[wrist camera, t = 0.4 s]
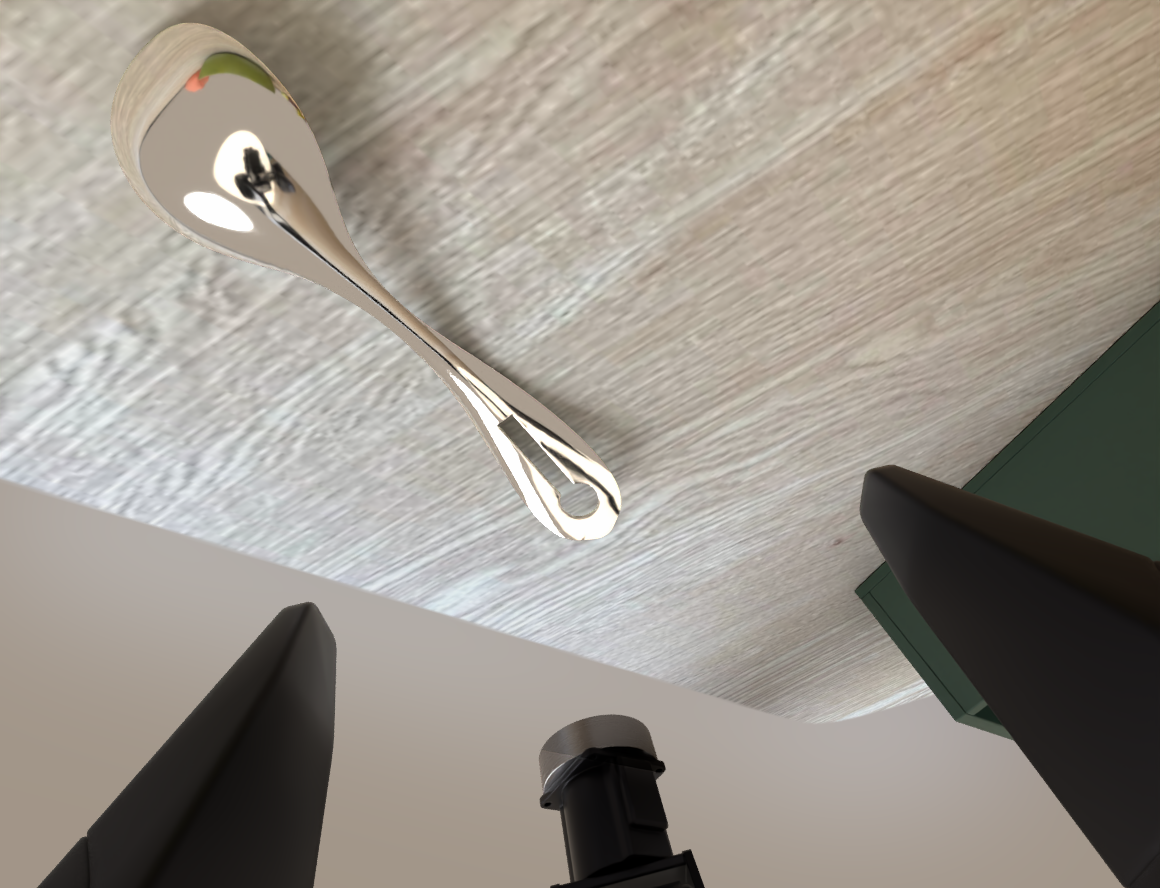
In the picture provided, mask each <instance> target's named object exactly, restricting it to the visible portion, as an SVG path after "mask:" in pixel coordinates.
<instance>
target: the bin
mask: <svg viewBox="0 0 1160 888" xmlns="http://www.w3.org/2000/svg"><path fill="white" fill-rule="evenodd" d="M962 490H965V491H968V492H970V493H973V494H976V495H979V496H981V497H984V498H987V499H990V500H992V501H995V502H998V503H1001V504H1003V505H1006V506H1009V507H1012V508H1014V509H1017V510H1020V511H1023V512H1025V513H1028V514H1031V515H1034V516H1036V517H1039V518H1042V519H1045V520H1047V521H1050V522H1053V523H1056V524H1058V525H1061V526H1064V527H1067V528H1069V529H1072V530H1075V531H1078V532H1081V533H1083V534H1086V535H1089V536H1092V537H1094V538H1097V539H1100V540H1103V541H1105V542H1108V543H1111V544H1114V545H1116V546H1119V547H1122V548H1125V549H1127V550H1130V551H1133V552H1136V553H1138V554H1141V555H1144V556H1147V557H1149V558H1150V559H1151V560H1152V561H1156V560H1157V561H1160V301H1159V302H1158V303H1157V304H1156V305H1155V306H1154V307H1153V308H1152V309H1151V310H1150V311H1149V312H1148V313H1147V314H1146V315H1145V316H1144V317H1143V318H1142V319H1140V320H1139V321H1138V322H1137V323H1136V324H1135V325H1134V326H1133V327H1132V328H1131V329H1130V330H1129V331H1128V332H1127V333H1126V334H1125V335H1124V336H1123V337H1122V338H1120V339H1119V340H1118V341H1117V342H1116V343H1115V344H1114V345H1113V346H1112V347H1111V348H1110V349H1109V350H1108V351H1107V352H1106V353H1105V354H1104V355H1103V356H1102V357H1101V358H1099V359H1098V360H1097V361H1096V362H1095V363H1094V364H1093V365H1092V366H1091V367H1090V368H1089V369H1088V370H1087V371H1086V372H1085V373H1084V374H1083V375H1082V376H1081V377H1079V378H1078V379H1077V380H1076V381H1075V382H1074V383H1073V384H1072V385H1071V386H1070V387H1069V388H1068V389H1067V390H1066V391H1065V392H1064V393H1063V394H1062V395H1061V396H1059V397H1058V398H1057V399H1056V400H1055V401H1054V402H1053V403H1052V404H1051V405H1050V406H1049V407H1048V408H1047V409H1046V410H1045V411H1044V412H1043V413H1042V414H1041V415H1039V416H1038V417H1037V418H1036V419H1035V420H1034V421H1033V422H1032V423H1031V424H1030V425H1029V426H1028V427H1027V428H1026V429H1025V430H1024V431H1023V432H1022V433H1021V434H1019V435H1018V436H1017V437H1016V438H1015V439H1014V440H1013V441H1012V442H1011V443H1010V444H1009V445H1008V446H1007V447H1006V448H1005V449H1004V450H1003V451H1002V452H1001V453H999V454H998V455H997V456H996V457H995V458H994V459H993V460H992V461H991V462H990V463H989V464H988V465H987V466H986V467H985V468H984V469H983V470H982V471H981V472H980V473H978V474H977V475H976V476H975V477H974V478H973V479H972V480H971V481H970V482H969V483H968V484H967V485H966V486H965V487H964V488H963V489H962ZM855 592H856V594H857V595H858V596H859V598H860V599H862V601H863V602H864V604H865V605H866V606H867V608H868V609H869V610H870V612H871V613H872V614H873V615H874V617H875V618H876V619H877V621H878V622H879V623H880V624H881V626H882V627H883V628H884V630H885V631H886V632H887V633H888V635H889V636H890V637H891V639H892V640H893V641H894V642H895V644H896V645H897V646H898V648H899V649H900V650H901V652H902V653H903V654H904V655H905V657H906V658H907V659H908V661H909V662H910V663H911V664H912V666H913V667H914V668H915V670H916V671H917V672H918V673H919V675H920V676H921V677H922V679H923V680H924V681H925V682H926V684H927V685H928V686H929V688H930V689H931V690H932V692H933V693H934V694H935V695H936V697H937V698H938V699H939V701H940V702H941V703H942V704H943V706H944V707H945V708H946V710H947V711H948V712H949V713H950V715H951V716H952V717H953V718H954V720H955V721H956V722H959V723H963V724H965V725H969V726H972V727H975V728H978V729H981V730H984V731H987V732H990V733H993V734H996V735H999V736H1002V737H1005V738H1008V739H1011V740H1013V738H1012V737H1011V736H1010V734H1009V733H1008V731H1007V730H1006V729H1005V727H1004V726H1003V725H1002V723H1001V722H1000V721H999V719H998V718H997V717H996V715H995V714H994V713H993V711H992V710H991V709H990V707H989V706H988V705H987V703H986V702H985V701H984V699H983V698H982V697H981V695H980V694H979V693H978V691H977V690H976V689H975V687H974V686H973V685H972V683H971V682H970V681H969V679H968V678H967V677H966V675H965V674H964V672H963V671H962V670H961V668H960V667H959V666H958V664H957V663H956V662H955V660H954V659H953V658H952V656H951V655H950V654H949V652H948V651H947V650H946V648H945V647H944V646H943V644H942V643H941V642H940V640H939V639H938V638H937V636H936V635H935V634H934V632H933V631H932V630H931V628H930V627H929V626H928V624H927V623H926V622H925V620H924V619H923V618H922V616H921V615H920V613H919V612H918V611H917V609H916V608H915V607H914V605H913V604H912V602H911V601H910V600H909V598H908V596H907V595H906V593H905V592H904V590H903V589H902V587H901V585H900V584H899V582H898V580H897V579H896V577H895V575H894V574H893V572H892V570H891V569H890V567H889V565H888V563H887V562H885V563H884V564H883V565H882V566H881V567H880V568H878V569H877V570H876V571H875V572H874V573H873V574H872V575H871V576H870V577H869V578H868V579H867V580H866V581H865V582H864V583H863V584H862V585H861V586H860V587H859V588H857V589H856V590H855Z"/></svg>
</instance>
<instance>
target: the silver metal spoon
mask: <svg viewBox="0 0 1160 888" xmlns="http://www.w3.org/2000/svg"><path fill="white" fill-rule="evenodd" d="M110 125H111V137H112V143H113V147H114V151H115V154H116V157H117V160H118V162H119V165H120V167H121V169H122V171H123V173H124V175H125V177H126V178H127V180H128V182H129V183H130V185H131V186H132V188H133V189H134V191H135V192H136V194H137V195H138V196H139V197H140V199H141V200H142V201H143V202H144V203H145V204H146V206H147V207H148V208H149V209H150V210H151V211H152V212H153V213H154V214H155V215H156V216H157V217H159V218H160V219H161V220H162V221H163V222H164V223H166V224H167V225H168V226H169V227H171V228H172V229H174V230H175V231H177V232H178V233H180V234H181V235H183V236H184V237H186V238H188V239H190V240H191V241H193V242H195V243H197V244H199V245H201V246H203V247H206V248H208V249H210V250H212V251H215V252H218V253H220V254H223V255H226V256H229V257H232V258H235V259H238V260H241V261H245V262H248V263H252V264H255V265H259V266H262V267H266V268H270V269H273V270H277V271H280V272H284V273H287V274H290V275H293V276H296V277H299V278H302V279H305V280H308V281H310V282H313V283H315V284H317V285H320V286H322V287H324V288H326V289H328V290H330V291H332V292H334V293H336V294H338V295H340V296H342V297H344V298H345V299H347V300H349V301H351V302H352V303H354V304H355V305H357V306H359V307H360V308H362V309H363V310H365V311H366V312H368V313H369V314H371V315H372V316H373V317H375V318H376V319H378V320H379V321H380V322H382V323H383V324H384V325H385V326H387V327H388V328H389V329H390V330H392V331H393V332H394V333H395V334H396V335H398V336H399V337H400V338H401V339H402V340H403V341H404V342H405V343H407V344H408V345H409V346H410V347H411V348H412V349H413V350H414V351H415V352H416V353H417V354H418V355H419V356H420V357H421V358H422V359H423V360H424V361H425V362H426V363H427V364H428V365H429V366H430V368H431V369H432V370H433V371H434V372H435V373H436V374H437V375H438V377H439V378H440V379H441V380H442V381H443V383H444V384H445V385H446V386H447V388H448V389H449V390H450V391H451V393H452V394H453V395H454V397H455V398H456V399H457V401H458V402H459V403H460V405H461V406H462V408H463V409H464V410H465V412H466V413H467V415H468V416H469V418H470V419H471V421H472V422H473V424H474V426H475V427H476V429H477V430H478V432H479V433H480V435H481V437H482V438H483V440H484V441H485V443H486V445H487V446H488V448H489V449H490V451H491V453H492V454H493V456H494V457H495V459H496V461H497V462H498V464H499V466H500V467H501V469H502V470H503V472H504V473H505V475H506V477H507V478H508V480H509V481H510V483H511V484H512V486H513V487H514V489H515V490H516V492H517V493H518V494H519V496H520V497H521V499H522V500H523V501H524V503H525V504H526V505H527V507H528V508H529V509H530V510H531V511H532V513H533V514H534V515H535V516H536V517H537V518H538V519H539V520H540V521H541V522H542V523H543V524H544V525H545V526H546V527H547V528H548V529H550V530H551V531H552V532H554V533H556V534H557V535H559V536H561V537H564V538H566V539H570V540H588V539H597V538H601V537H603V536H605V535H607V534H608V533H609V532H610V531H611V529H612V528H613V526H614V524H615V521H616V519H617V517H618V515H619V512H620V509H621V495H620V491H619V488H618V485H617V483H616V481H615V479H614V477H613V475H612V474H611V472H610V471H609V469H608V468H607V466H606V465H605V464H604V462H603V461H602V460H601V459H600V457H599V456H598V455H597V454H596V453H595V452H594V451H593V450H592V448H591V447H590V446H589V445H588V444H587V443H586V442H585V441H584V440H583V439H582V438H581V437H580V436H579V435H578V434H577V433H575V432H574V431H573V430H572V429H571V428H570V427H569V426H568V425H567V424H565V423H564V422H563V421H562V420H561V419H560V418H558V417H557V416H556V415H555V414H554V413H552V412H551V411H550V410H549V409H548V408H546V407H545V406H544V405H542V404H541V403H540V402H539V401H537V400H536V399H535V398H533V397H532V396H531V395H529V394H528V393H527V392H525V391H524V390H523V389H521V388H520V387H519V386H517V385H516V384H514V383H513V382H512V381H510V380H509V379H507V378H506V377H504V376H503V375H502V374H500V373H499V372H497V371H496V370H494V369H493V368H491V367H490V366H488V365H487V364H485V363H484V362H482V361H481V360H479V359H478V358H476V357H474V356H473V355H471V354H470V353H468V352H467V351H465V350H464V349H462V348H461V347H459V346H458V345H456V344H454V343H453V342H451V341H450V340H448V339H447V338H445V337H444V336H442V335H441V334H440V333H438V332H437V331H435V330H434V329H432V328H431V327H430V326H428V325H427V324H425V323H424V322H423V321H421V320H420V319H419V318H417V317H416V316H415V315H414V314H412V313H411V312H410V311H409V310H407V309H406V308H405V307H404V306H403V305H402V304H401V303H399V302H398V301H397V300H396V299H395V298H394V297H393V296H392V295H391V294H390V293H389V292H388V291H387V290H386V289H385V288H384V287H383V286H382V284H381V283H380V282H379V281H378V280H377V279H376V278H375V276H374V275H373V274H372V272H371V271H370V270H369V268H368V267H367V266H366V264H365V263H364V261H363V260H362V258H361V257H360V255H359V253H358V251H357V250H356V248H355V246H354V244H353V242H352V240H351V238H350V236H349V233H348V231H347V229H346V226H345V223H344V221H343V218H342V215H341V212H340V209H339V206H338V203H337V199H336V196H335V193H334V190H333V186H332V183H331V180H330V177H329V174H328V171H327V168H326V164H325V162H324V159H323V156H322V153H321V151H320V148H319V146H318V143H317V141H316V139H315V136H314V134H313V132H312V130H311V128H310V126H309V124H308V122H307V120H306V119H305V117H304V115H303V113H302V112H301V110H300V108H299V107H298V105H297V104H296V102H295V101H294V99H293V98H292V96H291V95H290V94H289V92H288V91H287V90H286V88H285V87H284V86H283V85H282V83H281V82H280V81H279V80H278V78H277V77H276V76H275V75H274V74H273V73H272V72H271V71H270V70H269V69H268V67H267V66H266V65H265V64H264V63H263V62H262V61H261V60H260V59H258V58H257V57H256V56H255V55H254V54H253V53H252V52H251V51H249V50H248V49H247V48H246V47H245V46H243V45H242V44H241V43H239V42H238V41H237V40H235V39H234V38H232V37H231V36H229V35H227V34H225V33H224V32H222V31H220V30H218V29H216V28H213V27H210V26H207V25H204V24H199V23H182V24H177V25H174V26H171V27H169V28H167V29H165V30H164V31H162V32H160V33H159V34H158V35H156V36H155V37H154V38H153V39H151V40H150V41H149V42H148V43H147V44H146V45H145V46H144V47H143V48H142V49H141V51H140V52H139V53H138V54H137V55H136V57H135V58H134V59H133V60H132V62H131V63H130V65H129V66H128V68H127V69H126V71H125V73H124V74H123V76H122V78H121V80H120V82H119V85H118V87H117V90H116V92H115V96H114V99H113V103H112V109H111V120H110ZM511 415H513V416H514V417H515V418H516V420H517V421H518V422H519V423H520V424H521V425H522V426H523V427H524V428H525V430H526V431H527V432H528V433H529V434H530V435H531V436H532V437H533V439H534V440H535V441H536V442H537V443H538V444H539V445H540V446H541V448H542V449H543V450H544V451H545V452H546V453H547V454H548V456H549V457H550V458H551V459H552V460H553V461H554V462H555V463H556V465H557V466H558V467H559V468H560V469H561V470H562V471H563V472H564V474H565V475H566V476H567V477H568V478H569V479H570V480H571V482H572V483H573V484H576V483H583V484H587V485H589V486H591V487H592V488H594V490H595V491H596V492H597V494H598V503H597V506H596V508H595V509H594V510H593V511H592V512H591V513H589V514H587V515H584V516H574V515H571V514H569V513H567V512H566V511H565V510H564V509H563V508H562V506H561V504H560V497H561V494H560V492H559V491H558V490H557V489H556V488H555V487H554V486H553V485H552V484H551V482H550V481H549V480H548V479H547V478H546V477H545V476H544V475H543V474H542V472H541V471H540V470H539V469H538V468H537V467H536V466H535V465H534V464H533V462H532V461H531V460H530V459H529V458H528V457H527V456H526V455H525V454H524V453H523V451H522V450H521V449H520V448H519V447H518V446H517V445H516V444H515V443H514V441H513V440H512V439H511V438H510V437H509V436H508V435H507V434H506V433H505V431H504V430H503V429H502V428H501V427H500V426H499V424H500V423H502V422H503V421H504V420H506V419H507V418H508V417H509V416H511Z"/></svg>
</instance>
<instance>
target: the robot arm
mask: <svg viewBox="0 0 1160 888" xmlns="http://www.w3.org/2000/svg"><path fill="white" fill-rule="evenodd" d="M860 515H861V518H862V521H863V523H864V525H865V526H866V528H867V530H868V531H869V533H870V535H871V536H872V538H873V540H874V542H875V543H876V545H877V547H878V548H879V550H880V552H881V553H882V555H883V557H884V558H885V560H886V562H887V563H888V565H889V567H890V569H891V570H892V572H893V574H894V575H895V577H896V579H897V580H898V582H899V584H900V585H901V587H902V589H903V590H904V592H905V593H906V595H907V596H908V598H909V600H910V601H911V602H912V604H913V605H914V607H915V608H916V609H917V611H918V612H919V613H920V615H921V616H922V618H923V619H924V620H925V622H926V623H927V624H928V626H929V627H930V628H931V630H932V631H933V632H934V634H935V635H936V636H937V638H938V639H939V640H940V642H941V643H942V644H943V646H944V647H945V648H946V650H947V651H948V652H949V654H950V655H951V656H952V658H953V659H954V660H955V662H956V663H957V664H958V666H959V667H960V668H961V670H962V671H963V672H964V674H965V675H966V677H967V678H968V679H969V681H970V682H971V683H972V685H973V686H974V687H975V689H976V690H977V691H978V693H979V694H980V695H981V697H982V698H983V699H984V701H985V702H986V703H987V705H988V706H989V707H990V709H991V710H992V711H993V713H994V714H995V715H996V717H997V718H998V719H999V721H1000V722H1001V723H1002V725H1003V726H1004V727H1005V729H1006V730H1007V731H1008V733H1009V734H1010V736H1011V737H1012V738H1013V740H1014V741H1015V742H1016V744H1017V745H1018V746H1019V747H1020V749H1021V750H1022V752H1023V753H1024V754H1025V755H1026V757H1027V758H1028V760H1029V761H1030V762H1031V763H1032V765H1033V766H1034V768H1035V769H1036V770H1037V772H1038V773H1039V774H1040V776H1041V777H1042V778H1043V780H1044V781H1045V782H1046V784H1047V785H1048V786H1049V788H1050V789H1051V790H1052V792H1053V793H1054V794H1055V796H1056V797H1057V799H1058V800H1059V801H1060V803H1061V804H1062V805H1063V807H1064V808H1065V809H1066V811H1067V812H1068V813H1069V815H1070V816H1071V817H1072V819H1073V820H1074V821H1075V822H1076V824H1077V825H1078V827H1079V828H1080V829H1081V830H1082V832H1083V833H1084V835H1085V836H1086V837H1087V839H1088V840H1089V841H1090V843H1091V844H1092V845H1093V847H1094V848H1095V849H1096V851H1097V852H1098V853H1099V855H1100V856H1101V858H1102V859H1103V860H1104V862H1105V863H1106V864H1107V866H1108V867H1109V868H1110V870H1111V871H1112V872H1113V873H1114V875H1115V876H1116V878H1117V879H1118V880H1119V882H1120V883H1121V884H1122V885H1123V887H1125V888H1160V561H1157V560H1156V561H1152V560H1151V559H1150V558H1149V557H1147V556H1144V555H1141V554H1138V553H1136V552H1133V551H1130V550H1127V549H1125V548H1122V547H1119V546H1116V545H1114V544H1111V543H1108V542H1105V541H1103V540H1100V539H1097V538H1094V537H1092V536H1089V535H1086V534H1083V533H1081V532H1078V531H1075V530H1072V529H1069V528H1067V527H1064V526H1061V525H1058V524H1056V523H1053V522H1050V521H1047V520H1045V519H1042V518H1039V517H1036V516H1034V515H1031V514H1028V513H1025V512H1023V511H1020V510H1017V509H1014V508H1012V507H1009V506H1006V505H1003V504H1001V503H998V502H995V501H992V500H990V499H987V498H984V497H981V496H979V495H976V494H973V493H970V492H968V491H965V490H962V489H959V488H957V487H954V486H951V485H948V484H946V483H943V482H940V481H937V480H935V479H932V478H929V477H926V476H923V475H921V474H918V473H915V472H912V471H910V470H907V469H904V468H901V467H899V466H896V465H886V466H882V467H878V468H873V469H870V470H869V471H867V473H866V474H865V477H864V483H863V489H862V496H861V503H860ZM335 684H336V642H335V638H334V636H333V634H332V632H331V630H330V628H329V627H328V625H327V623H326V621H325V620H324V618H323V616H322V614H321V613H320V611H319V609H318V607H317V606H316V605H315V604H314V603H312V602H305V603H301V604H297V605H292V606H288V607H286V608H284V609H283V610H282V611H281V612H280V613H279V614H278V615H277V616H276V617H275V619H274V620H273V621H272V622H271V623H270V624H269V625H268V626H267V627H266V628H265V630H264V631H263V632H262V633H261V634H260V635H259V636H258V638H257V639H256V640H255V641H254V642H253V643H252V644H251V646H250V647H249V648H248V649H247V650H246V651H245V652H244V654H243V655H242V656H241V657H240V658H239V659H238V660H237V661H236V663H235V664H234V665H233V666H232V667H231V668H230V669H229V671H228V672H227V673H226V674H225V675H224V676H223V678H221V680H220V681H219V682H218V683H217V684H216V685H215V687H214V688H213V689H212V690H211V691H210V693H208V694H207V696H206V697H205V698H204V699H203V700H202V701H201V703H200V704H199V705H198V706H197V707H196V708H195V709H194V710H193V712H192V713H191V714H190V715H189V716H188V717H187V718H186V719H185V721H184V722H183V723H182V724H181V725H180V726H179V727H178V729H177V730H176V731H175V732H174V733H173V734H172V736H171V737H170V738H169V739H168V740H167V741H166V742H165V743H164V744H163V746H162V747H161V748H160V749H159V750H158V751H157V752H156V754H155V755H154V756H153V757H152V758H151V760H149V762H148V763H147V764H146V765H145V766H144V767H143V768H142V770H141V771H140V772H139V773H138V774H137V775H136V776H135V777H134V779H133V780H132V781H131V782H130V783H129V784H128V785H127V787H126V788H125V789H124V790H123V791H122V792H121V793H120V795H119V796H118V797H117V798H116V799H115V800H114V801H113V803H112V804H111V805H110V806H109V807H108V808H107V810H105V812H104V813H103V814H102V815H101V817H99V818H98V820H97V821H96V822H95V823H94V824H93V825H92V826H91V828H90V829H89V830H88V832H87V837H82V838H81V839H80V840H79V841H78V842H77V843H76V844H75V846H74V847H73V848H72V849H71V850H70V851H69V852H68V853H67V855H66V856H65V857H64V858H63V859H62V860H61V861H60V863H59V864H58V865H57V866H56V867H55V868H54V870H52V872H51V873H50V874H49V875H48V876H47V877H46V878H45V879H44V881H42V883H41V884H40V885H39V886H38V887H37V888H313V886H314V879H315V871H316V865H317V858H318V851H319V844H320V837H321V830H322V823H323V816H324V809H325V802H326V796H327V787H328V782H329V775H330V768H331V761H332V752H333V741H334V718H335ZM665 770H666V767H665V764H664V762H663V761H660V760H655V759H650V758H645V757H640V756H636V755H631V754H626V753H621V752H616V751H611V750H606V749H601V748H596V747H591V748H588V749H586V750H585V751H584V752H583V753H582V754H581V755H580V756H579V757H578V758H577V759H576V760H575V761H574V763H573V764H572V765H571V766H570V767H569V768H568V769H567V770H566V771H565V772H564V773H563V774H562V775H561V776H560V777H559V778H558V780H557V781H556V782H555V783H554V784H553V785H552V786H551V787H550V788H549V789H548V790H547V791H546V792H545V793H544V794H543V795H542V797H541V798H540V805H541V807H542V808H545V809H551V810H558V811H560V813H561V820H562V827H563V834H564V841H565V847H566V855H567V861H568V868H569V875H570V882H571V883H567V884H563V885H559V884H556V885H552V886H551V887H550V888H705V887H704V884H703V882H702V879H701V876H700V873H699V871H698V868H697V865H696V862H695V860H694V857H693V854H692V851H691V849H689V850H686V851H682V853H681V854H678V855H673V853H672V849H671V845H670V842H669V839H668V835H667V831H666V829H667V828H668V822H667V819H666V815H665V812H664V808H663V805H662V802H661V798H660V794H659V791H658V787H657V784H656V779H657V778H658V777H659V776H661V775H662V774H663V773H664V772H665Z"/></svg>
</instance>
